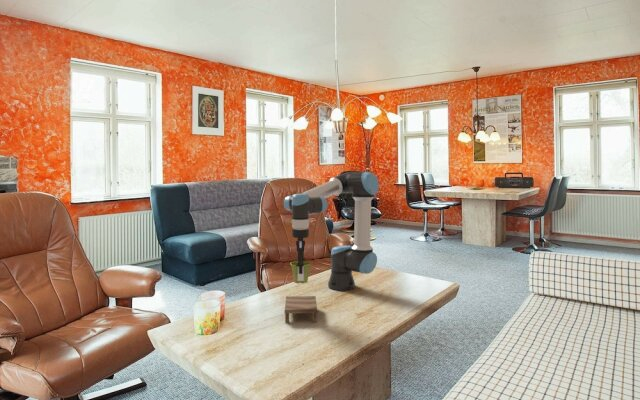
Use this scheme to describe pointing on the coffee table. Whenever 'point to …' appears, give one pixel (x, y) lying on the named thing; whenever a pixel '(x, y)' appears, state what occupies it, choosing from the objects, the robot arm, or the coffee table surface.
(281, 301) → the coffee table surface
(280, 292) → the coffee table surface
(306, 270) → the plant pot
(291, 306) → the walnut plant stand
